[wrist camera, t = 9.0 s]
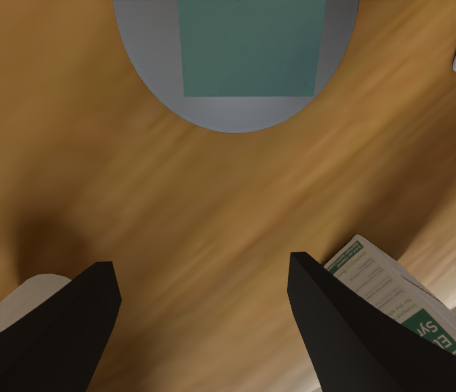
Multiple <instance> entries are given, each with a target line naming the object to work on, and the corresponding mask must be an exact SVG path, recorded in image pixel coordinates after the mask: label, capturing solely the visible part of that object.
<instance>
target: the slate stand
mask: <svg viewBox="0 0 456 392" xmlns="http://www.w3.org/2000/svg"><path fill="white" fill-rule="evenodd" d="M358 3H359V0H326V2H325V10H324V18H323V26H322V34H321V42H320V50H319V58H318V66H317V74H316V82H315V90H314V96H311V97H184V87H183V72H182V57H181V42H180V27H179V12H178V0H113V6H114V11H115V16H116V21H117V26H118V29H119V32H120V35H121V39H122V42H123V45H124V47H125V49H126V52H127V54H128V56H129V58H130V61H131V62H132V64H133V66H134V68H135V69H136V71H137V73H138V74H139V76H140V78H141V79H142V80H143V82H144V83H145V84H146V86H147V87H148V88H149V90H150V91H151V92H152V93H153V94H154V95H155V96H156V97H157V98H158V99H159V100H160V101H161V102H162V103H163V104H164V105H165V106H166V107H168V108H169V109H170V110H171V111H172V112H174V113H176V114H177V115H179V116H180V117H182V118H183V119H185V120H187V121H189V122H191V123H193V124H195V125H197V126H200V127H203V128H206V129H209V130H214V131H219V132H226V133H245V132H253V131H258V130H262V129H266V128H269V127H271V126H274V125H277V124H279V123H281V122H283V121H285V120H287V119H289V118H290V117H292V116H293V115H295V114H296V113H298V112H299V111H301V110H302V109H303V108H304V107H305V106H307V105H308V104H309V103H310V102H311V101H312V100H313V99H314V98H315V97H316V96H317V95H318V94H319V93H320V92H321V91H322V89H323V88H324V87H325V85H326V84H327V83H328V81H329V80H330V79H331V77H332V76H333V74H334V72H335V71H336V69H337V67H338V66H339V64H340V62H341V60H342V58H343V56H344V53H345V51H346V49H347V47H348V44H349V41H350V38H351V35H352V32H353V29H354V24H355V20H356V15H357V11H358Z"/></svg>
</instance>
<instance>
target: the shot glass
mask: <svg viewBox="0 0 456 392" xmlns="http://www.w3.org/2000/svg"><path fill="white" fill-rule="evenodd" d="M70 281H72V280H70V279H68V278H67V277H65V276H60V275H56V274H38V275H36V276H34V277H31V278H29V279H27V280H26V281H25V282H24V283H23V284H21V285H20V286H19V287H18V288H17V289H15V290H14V291H13V292H12V293H11V294H9V295H8V296H7V297H6V298H5V299H4V300H2V301H1V302H0V332H2V331H3V330H5V329H6V328H8V327H9V326H11V325H12V324H13V323H15V322H16V321H18V320H19V319H20V318H22V317H23V316H25V315H26V314H27V313H29V312H30V311H32V310H33V309H34V308H36V307H37V306H39V305H40V304H41V303H43V302H44V301H46V300H47V299H48V298H50V297H51V296H52V295H53V294H55V293H56V292H57V291H59V290H60V289H61V288H63V287H64V286H65V285H67V284H68V283H69V282H70Z"/></svg>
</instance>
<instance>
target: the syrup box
mask: <svg viewBox="0 0 456 392" xmlns="http://www.w3.org/2000/svg"><path fill="white" fill-rule="evenodd" d="M323 267H324V268H325V269H326V270H328V271H329V272H330V273H331V274H332V275H334V276H335V277H336V278H337V279H338V280H340V281H341V282H342V283H343V284H345V285H346V286H347V287H348V288H350V289H351V290H352V291H354V292H355V293H356V294H358V295H359V296H360V297H362V298H363V299H364V300H366V301H367V302H369V303H370V304H371V305H373V306H374V307H376V308H377V309H378V310H380V311H381V312H383V313H384V314H386V315H388V316H389V317H391V318H392V319H394V320H395V321H397V322H398V323H400V324H402V325H403V326H405V327H406V328H408V329H410V330H411V331H413V332H415V333H416V334H418V335H420V336H421V337H423V338H425V339H427V340H429V341H430V342H432V343H434V344H436V345H437V346H439V347H441V348H443V349H445V350H446V351H448V352H450V353H452V354H454V355H456V315H455V314H454V313H453V312H451V311H450V310H449V309H448V308H447V307H446V306H445V305H444V304H443V303H442V302H441V301H440V300H439V299H438V298H436V297H435V296H434V295H433V294H432V293H431V292H430V291H429V290H428V289H427V288H425V287H424V286H423V285H422V284H421V283H420V282H419V281H418V280H417V279H416V278H415V277H414V276H412V275H411V274H410V273H409V272H408V271H407V270H406V269H405V268H404V267H403V266H402V265H401V264H399V263H398V262H397V261H396V260H394V259H393V258H391V257H390V256H389V255H387V254H386V253H384V252H383V251H382V250H380V249H379V248H377V247H376V246H375V245H373V244H372V243H371V242H369V241H368V240H366V239H365V238H364V237H362V236H361V235H358V234H356V235H355V236H354V237H353V238H352V239H351V241H350V242H349V243H348V244H347V245H346V246H345V247H343V248H342V249H341V250H340V251H339V252H338V253H337V254H336V255H335V256H334V257H333V258H332V259H331V260H330V261H329V262H328V263H326V264H325V265H324V266H323Z"/></svg>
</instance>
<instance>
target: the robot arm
mask: <svg viewBox="0 0 456 392" xmlns="http://www.w3.org/2000/svg"><path fill="white" fill-rule="evenodd" d="M453 70H454V71H455V72H456V57H455V60H454V63H453ZM287 293H288V297H289V301H290V305H291V308H292V312H293V315H294V318H295V321H296V323H297V326H298V328H299V331H300V333H301V336H302V339H303V341H304V344H305V346H306V349H307V351H308V354H309V356H310V359H311V361H312V364H313V366H314V369H315V371H316V374H317V377H318V380H319V382H320V385H321V388H322V391H323V392H456V355H454V354H452V353H450V352H448V351H446V350H445V349H443V348H441V347H439V346H437V345H436V344H434V343H432V342H430V341H429V340H427V339H425V338H423V337H421V336H420V335H418V334H416V333H415V332H413V331H411V330H410V329H408V328H406V327H405V326H403V325H402V324H400V323H398V322H397V321H395V320H394V319H392V318H391V317H389V316H388V315H386V314H384V313H383V312H381V311H380V310H378V309H377V308H376V307H374V306H373V305H371V304H370V303H369V302H367V301H366V300H364V299H363V298H362V297H360V296H359V295H358V294H356V293H355V292H354V291H352V290H351V289H350V288H348V287H347V286H346V285H345V284H343V283H342V282H341V281H340V280H338V279H337V278H336V277H335V276H334V275H332V274H331V273H330V272H329V271H328V270H326V269H325V268H324V267H323V266H322V265H321V264H319V263H318V262H317V261H316V260H315V259H314V258H312V257H311V256H310V255H309V254H308V253H306V252H291V254H290V265H289V275H288V286H287ZM121 301H122V299H121V295H120V291H119V287H118V283H117V279H116V275H115V271H114V268H113V264H112V261H107V262H96V263H94V264H93V265H91V266H90V267H89V268H87V269H86V270H85V271H83V272H82V273H81V274H79V275H78V276H77V277H76V278H74V279H73V280H72V281H70V282H69V283H68V284H67V285H65V286H64V287H63V288H61V289H60V290H59V291H57V292H56V293H55V294H53V295H52V296H51V297H50V298H48V299H47V300H46V301H44V302H43V303H41V304H40V305H39V306H37V307H36V308H34V309H33V310H32V311H30V312H29V313H27V314H26V315H25V316H23V317H22V318H20V319H19V320H18V321H16V322H15V323H13V324H12V325H11V326H9V327H8V328H6V329H5V330H3V331H2V332H0V392H86V390H87V387H88V385H89V383H90V380H91V378H92V376H93V374H94V371H95V369H96V367H97V364H98V362H99V360H100V358H101V355H102V353H103V351H104V349H105V346H106V344H107V342H108V339H109V337H110V335H111V332H112V330H113V327H114V325H115V322H116V318H117V315H118V312H119V308H120V305H121Z"/></svg>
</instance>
